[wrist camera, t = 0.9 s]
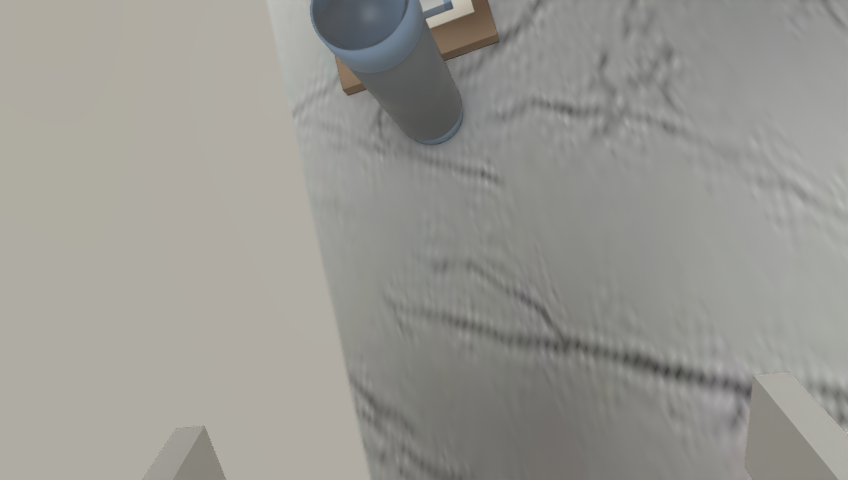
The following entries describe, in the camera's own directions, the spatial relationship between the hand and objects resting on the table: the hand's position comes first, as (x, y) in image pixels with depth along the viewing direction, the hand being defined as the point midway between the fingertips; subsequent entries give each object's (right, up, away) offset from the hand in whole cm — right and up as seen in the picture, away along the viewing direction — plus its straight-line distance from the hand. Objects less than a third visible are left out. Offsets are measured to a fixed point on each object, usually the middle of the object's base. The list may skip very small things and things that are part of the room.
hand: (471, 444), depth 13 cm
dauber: (-1, +13, +23) cm, 27 cm away
